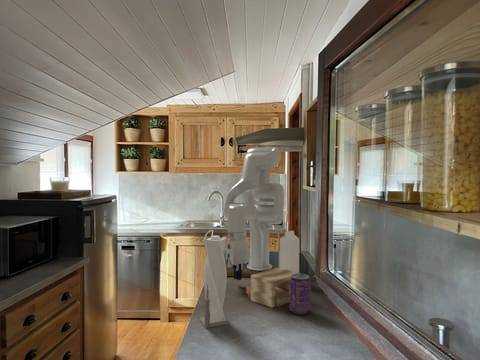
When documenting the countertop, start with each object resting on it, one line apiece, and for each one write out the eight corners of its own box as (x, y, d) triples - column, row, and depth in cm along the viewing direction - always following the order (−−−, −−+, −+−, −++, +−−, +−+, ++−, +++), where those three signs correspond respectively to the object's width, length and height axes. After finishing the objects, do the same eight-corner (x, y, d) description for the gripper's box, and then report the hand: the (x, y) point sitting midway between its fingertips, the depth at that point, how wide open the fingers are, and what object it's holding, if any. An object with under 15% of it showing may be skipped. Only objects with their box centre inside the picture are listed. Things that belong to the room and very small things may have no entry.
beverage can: (297, 306, 119) (297, 271, 119) (315, 311, 114) (315, 276, 114) (285, 311, 114) (285, 275, 114) (302, 317, 109) (302, 280, 109)
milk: (299, 282, 147) (299, 231, 147) (290, 285, 143) (290, 232, 142) (288, 279, 151) (288, 229, 151) (279, 282, 147) (279, 231, 147)
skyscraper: (198, 317, 109) (198, 230, 109) (222, 313, 112) (222, 228, 112) (205, 328, 102) (205, 234, 101) (230, 323, 105) (231, 232, 104)
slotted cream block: (245, 298, 127) (245, 273, 127) (271, 288, 138) (271, 266, 138) (274, 308, 117) (274, 281, 117) (300, 297, 128) (300, 272, 128)
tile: (246, 294, 132) (246, 287, 132) (258, 290, 137) (258, 283, 137) (278, 305, 121) (278, 297, 121) (290, 300, 126) (290, 292, 126)
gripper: (230, 239, 133) (231, 285, 134) (256, 233, 144) (256, 276, 145) (217, 236, 139) (218, 281, 139) (243, 231, 149) (243, 273, 150)
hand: (237, 279), depth 142 cm, fingers closed
